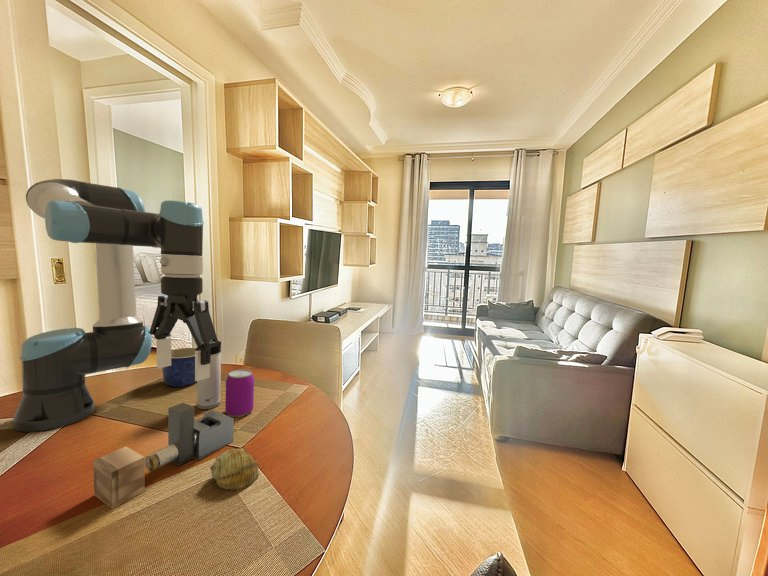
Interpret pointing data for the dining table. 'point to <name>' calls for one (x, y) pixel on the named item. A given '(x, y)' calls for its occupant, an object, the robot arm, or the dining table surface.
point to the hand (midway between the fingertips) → (182, 372)
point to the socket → (119, 476)
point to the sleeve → (212, 433)
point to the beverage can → (239, 393)
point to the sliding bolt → (176, 438)
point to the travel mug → (211, 382)
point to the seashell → (234, 470)
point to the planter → (180, 367)
